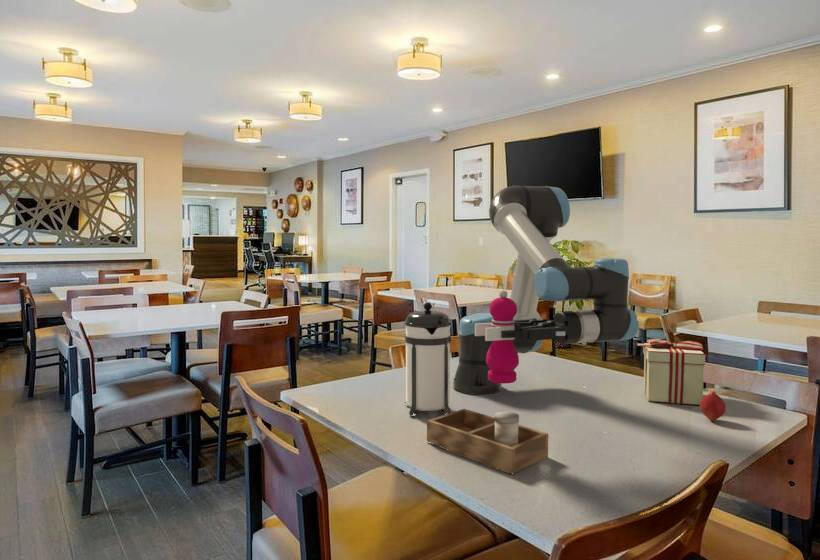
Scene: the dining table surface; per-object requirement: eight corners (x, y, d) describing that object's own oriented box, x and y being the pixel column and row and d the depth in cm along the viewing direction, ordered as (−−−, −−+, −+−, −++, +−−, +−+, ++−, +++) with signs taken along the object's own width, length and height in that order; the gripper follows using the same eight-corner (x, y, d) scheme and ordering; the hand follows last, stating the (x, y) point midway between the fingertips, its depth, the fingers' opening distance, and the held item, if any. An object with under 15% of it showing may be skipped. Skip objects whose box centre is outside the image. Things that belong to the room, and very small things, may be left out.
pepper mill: (518, 385, 117) (520, 292, 115) (484, 383, 118) (486, 291, 117) (518, 376, 124) (519, 289, 122) (486, 374, 125) (487, 288, 124)
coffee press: (468, 409, 151) (468, 301, 149) (430, 423, 140) (430, 307, 138) (421, 397, 163) (421, 297, 161) (383, 409, 152) (382, 301, 149)
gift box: (690, 389, 171) (692, 335, 170) (708, 407, 153) (710, 346, 152) (632, 386, 175) (634, 333, 174) (643, 403, 157) (645, 344, 156)
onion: (694, 417, 144) (695, 387, 143) (715, 416, 145) (716, 387, 144) (708, 424, 138) (709, 393, 138) (730, 424, 139) (731, 393, 138)
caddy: (426, 442, 126) (426, 403, 126) (464, 429, 135) (464, 392, 135) (511, 474, 109) (512, 429, 108) (548, 457, 118) (548, 415, 117)
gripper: (597, 351, 117) (498, 358, 110) (552, 336, 134) (464, 341, 128) (598, 316, 116) (499, 321, 110) (553, 305, 134) (464, 309, 127)
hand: (480, 332), depth 119 cm, fingers closed on pepper mill, 5 cm apart
